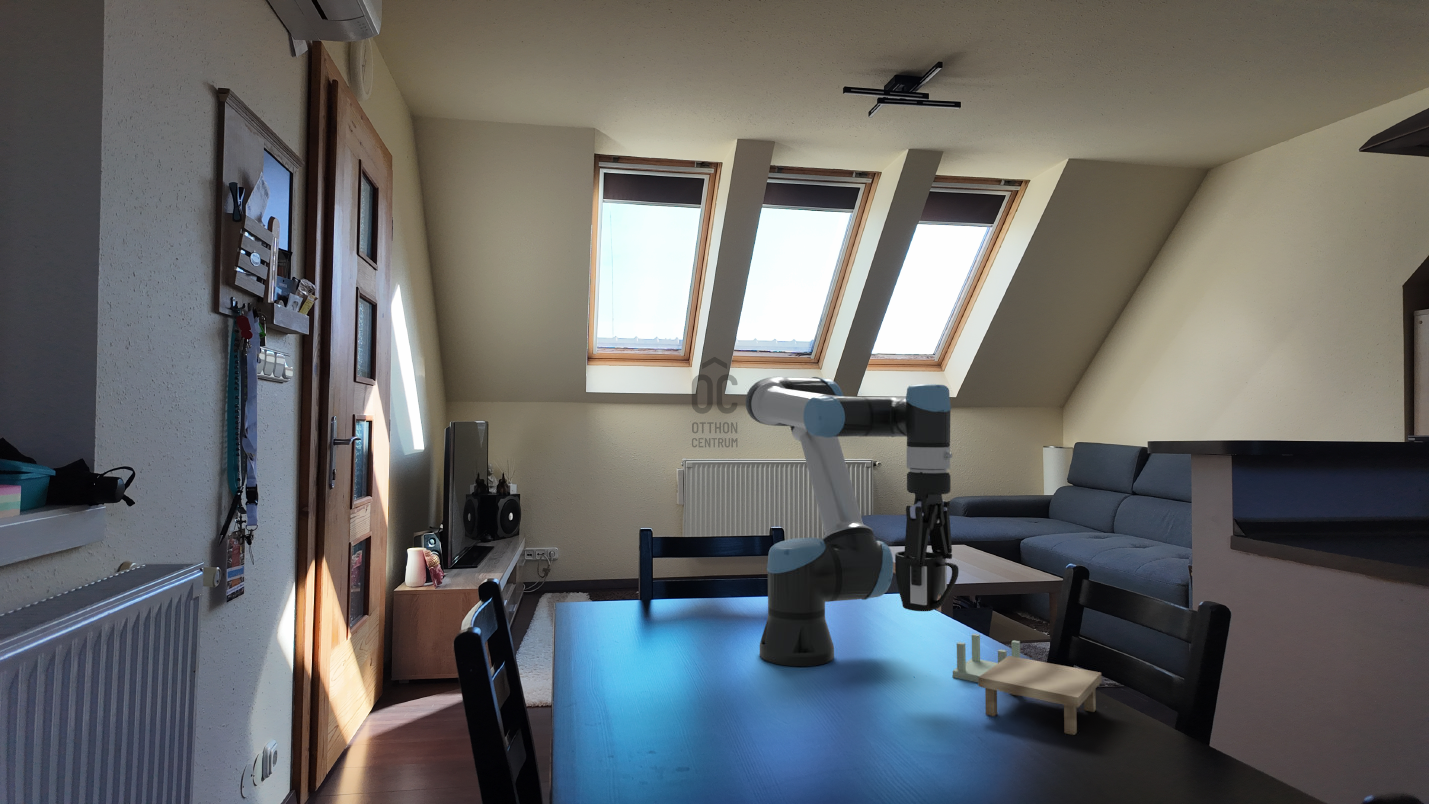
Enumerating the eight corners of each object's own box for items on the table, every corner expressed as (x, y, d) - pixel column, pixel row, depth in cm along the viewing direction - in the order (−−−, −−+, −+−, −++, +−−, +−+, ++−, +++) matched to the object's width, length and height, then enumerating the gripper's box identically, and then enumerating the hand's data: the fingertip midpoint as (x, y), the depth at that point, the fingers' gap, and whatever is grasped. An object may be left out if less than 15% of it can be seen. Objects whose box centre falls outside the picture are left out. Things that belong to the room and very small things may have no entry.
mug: (940, 620, 127) (940, 563, 127) (885, 606, 137) (885, 553, 137) (970, 613, 132) (970, 558, 132) (915, 600, 142) (915, 549, 142)
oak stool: (978, 714, 123) (978, 677, 123) (1009, 689, 135) (1008, 655, 135) (1078, 738, 114) (1077, 697, 114) (1102, 709, 125) (1101, 672, 126)
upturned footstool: (952, 677, 142) (952, 643, 142) (972, 664, 150) (971, 632, 150) (1007, 688, 136) (1006, 653, 136) (1024, 674, 143) (1024, 641, 144)
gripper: (924, 475, 125) (924, 614, 124) (970, 469, 141) (971, 592, 141) (882, 472, 130) (882, 606, 129) (932, 467, 146) (932, 586, 145)
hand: (928, 599), depth 135 cm, fingers closed on mug, 8 cm apart
